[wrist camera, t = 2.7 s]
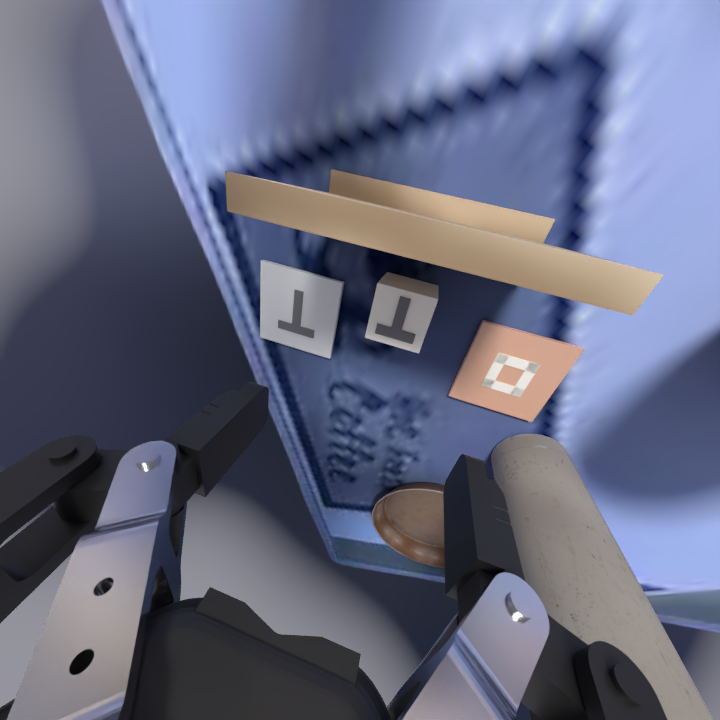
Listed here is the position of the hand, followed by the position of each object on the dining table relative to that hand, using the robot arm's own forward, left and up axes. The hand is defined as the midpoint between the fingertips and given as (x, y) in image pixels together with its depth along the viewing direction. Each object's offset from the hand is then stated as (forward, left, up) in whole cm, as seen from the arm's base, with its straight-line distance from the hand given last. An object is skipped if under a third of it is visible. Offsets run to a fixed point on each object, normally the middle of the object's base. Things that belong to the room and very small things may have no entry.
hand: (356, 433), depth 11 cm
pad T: (+4, -11, -19) cm, 22 cm away
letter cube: (0, 0, -19) cm, 19 cm away
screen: (-7, 0, -19) cm, 20 cm away
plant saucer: (+30, +13, -19) cm, 38 cm away
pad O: (+4, +12, -19) cm, 23 cm away
